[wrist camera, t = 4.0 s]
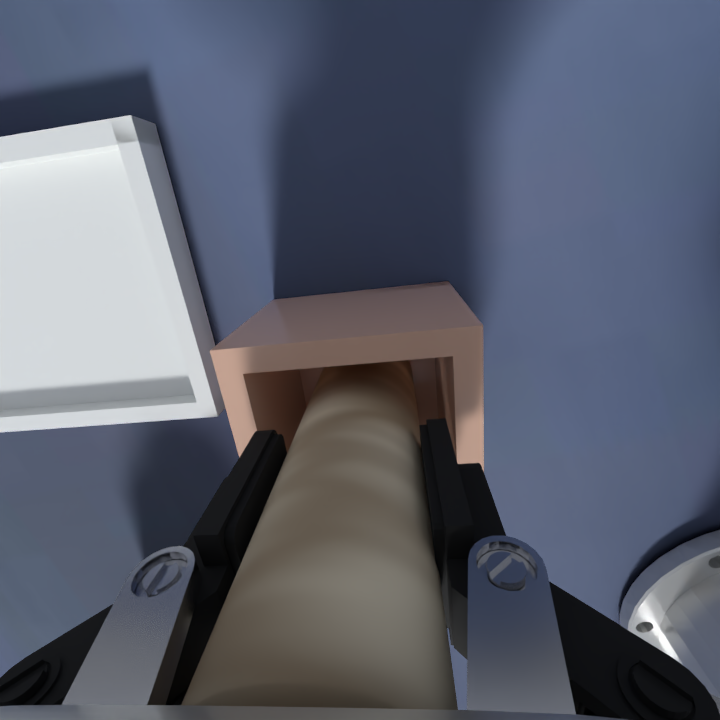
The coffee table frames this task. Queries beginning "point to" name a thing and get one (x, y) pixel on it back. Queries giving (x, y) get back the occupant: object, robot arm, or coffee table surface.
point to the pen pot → (356, 358)
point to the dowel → (339, 565)
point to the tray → (97, 283)
